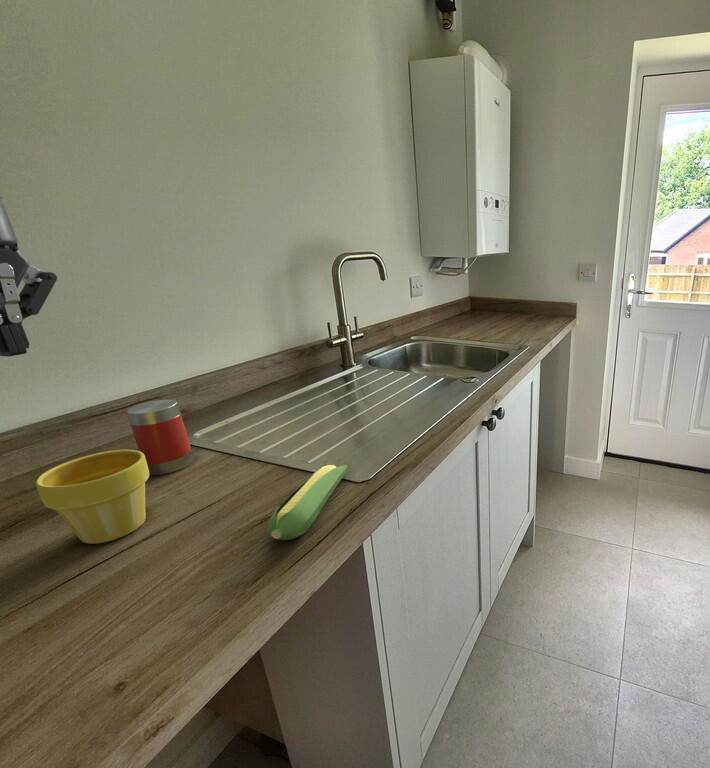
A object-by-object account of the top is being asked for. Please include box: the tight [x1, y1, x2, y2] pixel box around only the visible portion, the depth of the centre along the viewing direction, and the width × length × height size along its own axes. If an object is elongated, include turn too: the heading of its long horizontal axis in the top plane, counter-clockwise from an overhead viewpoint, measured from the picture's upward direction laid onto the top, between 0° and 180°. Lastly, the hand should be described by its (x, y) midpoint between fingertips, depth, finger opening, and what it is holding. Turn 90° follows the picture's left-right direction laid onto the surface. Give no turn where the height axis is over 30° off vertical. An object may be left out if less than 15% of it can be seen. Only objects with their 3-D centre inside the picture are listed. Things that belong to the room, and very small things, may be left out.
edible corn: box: [268, 460, 350, 541], centre depth 61 cm, size 5×20×5 cm, turn 179°
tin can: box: [126, 399, 194, 476], centre depth 72 cm, size 7×7×12 cm
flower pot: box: [35, 449, 150, 545], centre depth 56 cm, size 10×10×10 cm
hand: (12, 354), depth 50 cm, fingers closed
